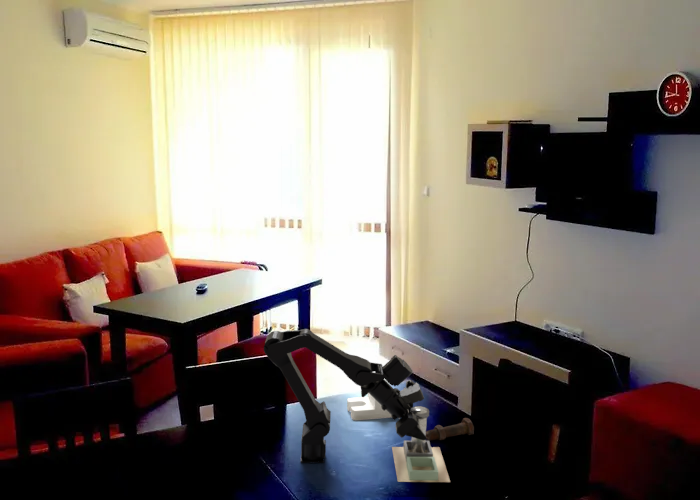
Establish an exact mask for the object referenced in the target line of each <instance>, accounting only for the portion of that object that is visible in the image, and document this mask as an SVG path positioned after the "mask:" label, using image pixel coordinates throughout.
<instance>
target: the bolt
mask: <svg viewBox="0 0 700 500" xmlns="http://www.w3.org/2000/svg"><path fill="white" fill-rule="evenodd" d="M474 431H475V426H474V424H473V422H472V420H471V419H470V418H468V417H464V418H462V420H461V422H459V423H457V424H452V425H448V426H444V427H443V426H442V425H440V424H437V425H435V426H434V428H433V429H429V430H426V437H427V439H426V441H429V442H430V441H436V440H439V441H443V440H446V438H450V437H456V436H461V435H468V436H473V435H474V433H475V432H474Z"/></svg>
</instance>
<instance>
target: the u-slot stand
mask: <svg viewBox="0 0 700 500" xmlns="http://www.w3.org/2000/svg"><path fill="white" fill-rule="evenodd" d="M346 400H347V403H346V407H347V412H350V418H351V420H353V421H365V420H377V419H378V420H379V419H388V418H389V419H390V418H391V419H392V417H391V414H390V413H389V412H388V411H387V410H385V411H384V410H383V409H382V407H381V405H380V404H379V403H378V402H377V401H376V400H375V399H374V398H373V397H372V396H371V395H370V394H369V393H368V394H367V396H365V397H362V396H359V397H348V398H347V399H346Z"/></svg>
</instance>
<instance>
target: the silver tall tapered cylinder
mask: <svg viewBox="0 0 700 500" xmlns="http://www.w3.org/2000/svg"><path fill="white" fill-rule="evenodd" d="M411 413H413V414H414V415H415V416H416V417H417V418H418V426H419V427H420V429H421V430H422V432H423V433H424V434H425V436H426V432H427V420H428V418H429V416H430V410H429V408H427V407H425V406H421V405H419V406H418V405H417V406H416V405H415V406H413V407H412V408H411ZM410 438H411V439H410V441H411V453H425V442H426V441H427V439H426V440H420V439H417V438H414V437H410Z"/></svg>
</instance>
